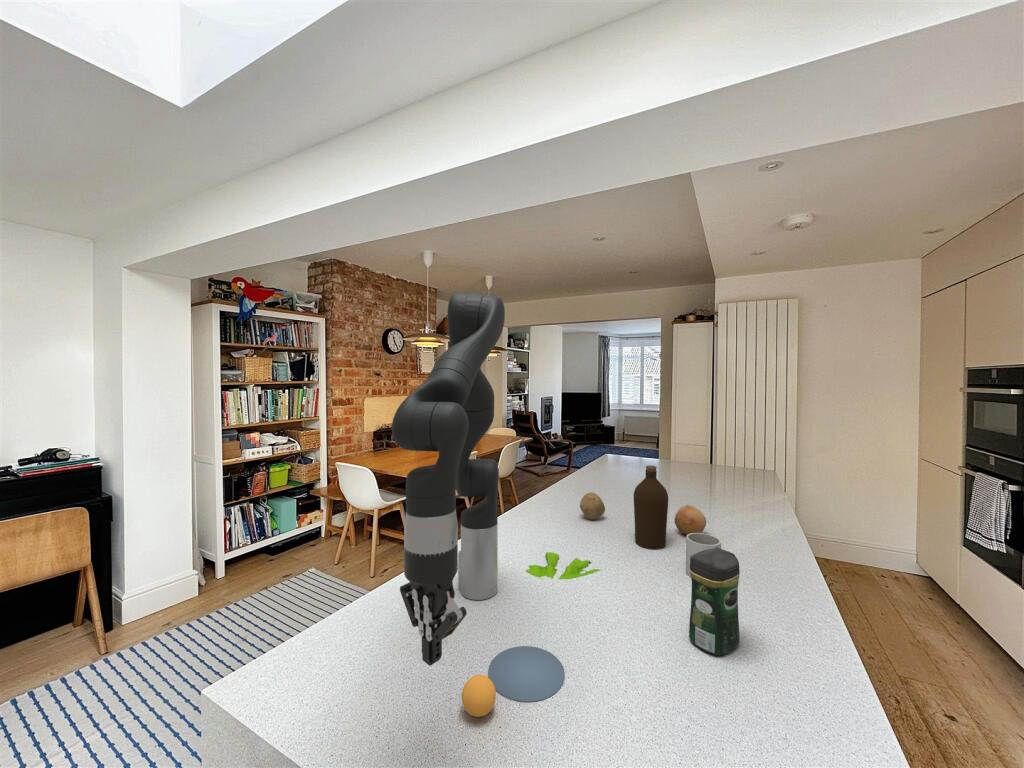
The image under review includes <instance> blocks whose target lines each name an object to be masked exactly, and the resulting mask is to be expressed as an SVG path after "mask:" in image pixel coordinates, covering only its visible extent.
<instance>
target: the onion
mask: <svg viewBox="0 0 1024 768" xmlns="http://www.w3.org/2000/svg"><path fill="white" fill-rule="evenodd" d="M674 525H675V526H676V528H677V529H678V530H679V532H681V533H682V534H683V535H686V536H687V535H688V534H690V533H703V531H704V530H705V529H706V525H707V519H706V516H705V515H704V513H703V512H702V511H701V510H700V509H699V508H697V507H696V506H694V505H690V504H685V505H683V506H681V507H680V508H679V509H678V510H677V511H676V513H675V515H674Z"/></svg>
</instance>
